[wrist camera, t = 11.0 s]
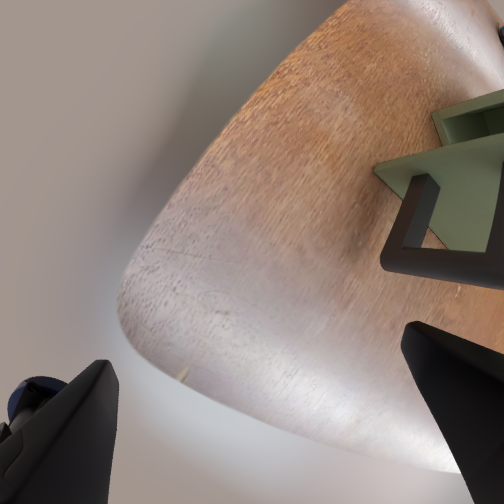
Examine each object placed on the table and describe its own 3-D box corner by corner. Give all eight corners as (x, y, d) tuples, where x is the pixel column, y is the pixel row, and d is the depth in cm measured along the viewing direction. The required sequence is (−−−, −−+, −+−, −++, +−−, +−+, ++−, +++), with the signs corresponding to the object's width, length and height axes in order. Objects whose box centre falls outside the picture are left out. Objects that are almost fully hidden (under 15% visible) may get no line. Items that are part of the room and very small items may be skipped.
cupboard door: (443, 333, 25) (544, 364, 13) (335, 251, 20) (497, 268, 9) (469, 265, 25) (567, 276, 14) (376, 163, 21) (517, 129, 9)
